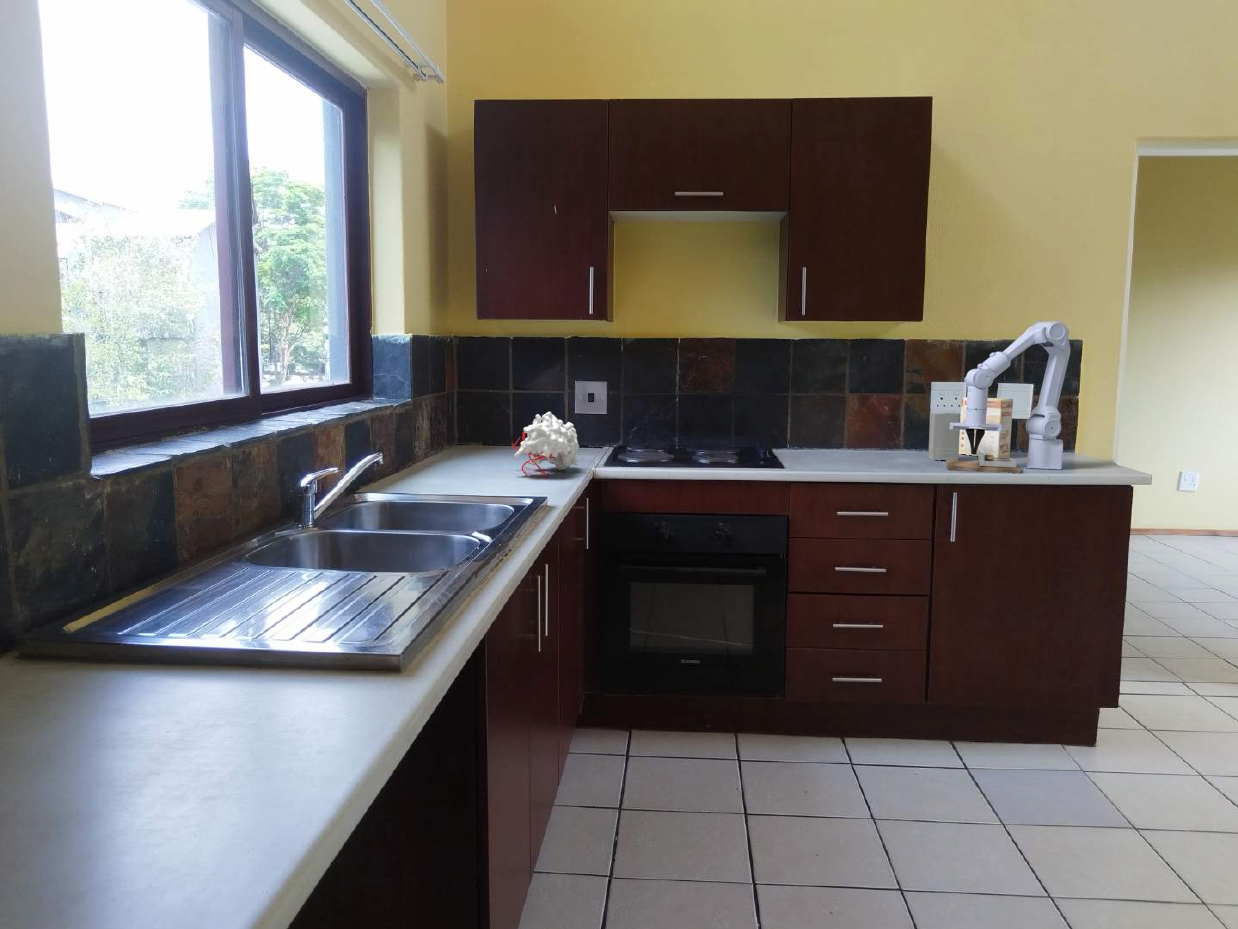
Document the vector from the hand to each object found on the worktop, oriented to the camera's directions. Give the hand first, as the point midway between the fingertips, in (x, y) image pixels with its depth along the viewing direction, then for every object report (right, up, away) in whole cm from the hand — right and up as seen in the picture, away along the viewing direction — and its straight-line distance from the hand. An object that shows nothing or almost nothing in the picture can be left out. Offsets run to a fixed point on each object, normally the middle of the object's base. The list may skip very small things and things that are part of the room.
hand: (973, 454), depth 274 cm
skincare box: (-3, -2, +18) cm, 19 cm away
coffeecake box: (+15, -1, +29) cm, 33 cm away
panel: (+6, -3, -2) cm, 7 cm away
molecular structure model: (-127, -6, -18) cm, 129 cm away
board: (+2, -4, 0) cm, 5 cm away
